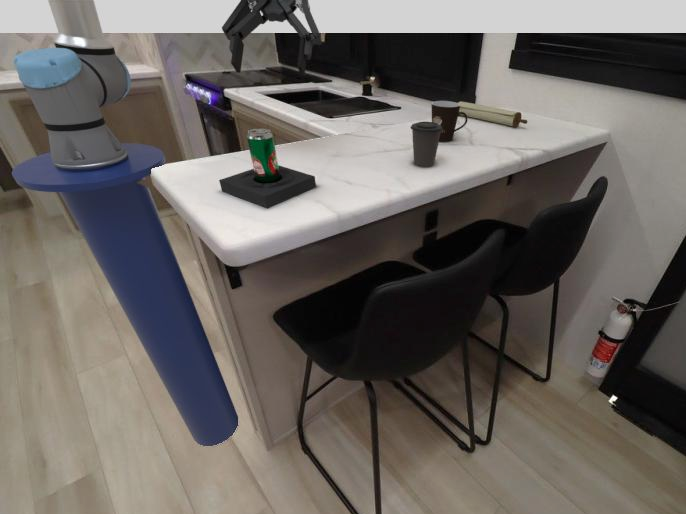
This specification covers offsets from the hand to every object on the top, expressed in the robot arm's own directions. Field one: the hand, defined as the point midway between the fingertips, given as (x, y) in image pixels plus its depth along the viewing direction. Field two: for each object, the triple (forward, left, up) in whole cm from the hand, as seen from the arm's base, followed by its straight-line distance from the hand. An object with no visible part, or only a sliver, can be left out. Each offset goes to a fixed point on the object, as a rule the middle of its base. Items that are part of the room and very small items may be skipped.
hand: (268, 70), depth 78 cm
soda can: (+5, -9, -21) cm, 24 cm away
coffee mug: (+17, +50, -21) cm, 57 cm away
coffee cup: (+23, +27, -21) cm, 42 cm away
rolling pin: (+17, +83, -21) cm, 87 cm away
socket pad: (+5, -9, -21) cm, 24 cm away
